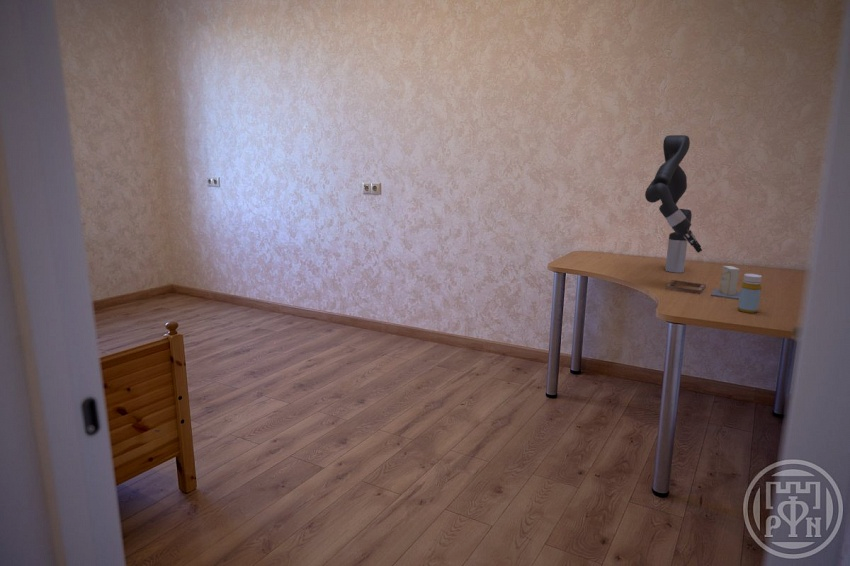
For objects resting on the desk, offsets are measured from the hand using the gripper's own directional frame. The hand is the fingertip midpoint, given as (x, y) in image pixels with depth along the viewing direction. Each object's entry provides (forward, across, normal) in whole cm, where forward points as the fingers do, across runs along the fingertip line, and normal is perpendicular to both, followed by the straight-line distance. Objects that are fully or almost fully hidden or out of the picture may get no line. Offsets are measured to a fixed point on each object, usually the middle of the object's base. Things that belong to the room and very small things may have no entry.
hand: (699, 249), depth 257 cm
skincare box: (+23, -4, +2) cm, 23 cm away
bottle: (+26, -29, -2) cm, 39 cm away
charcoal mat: (+23, -4, +2) cm, 24 cm away
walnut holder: (+12, +1, +15) cm, 20 cm away
